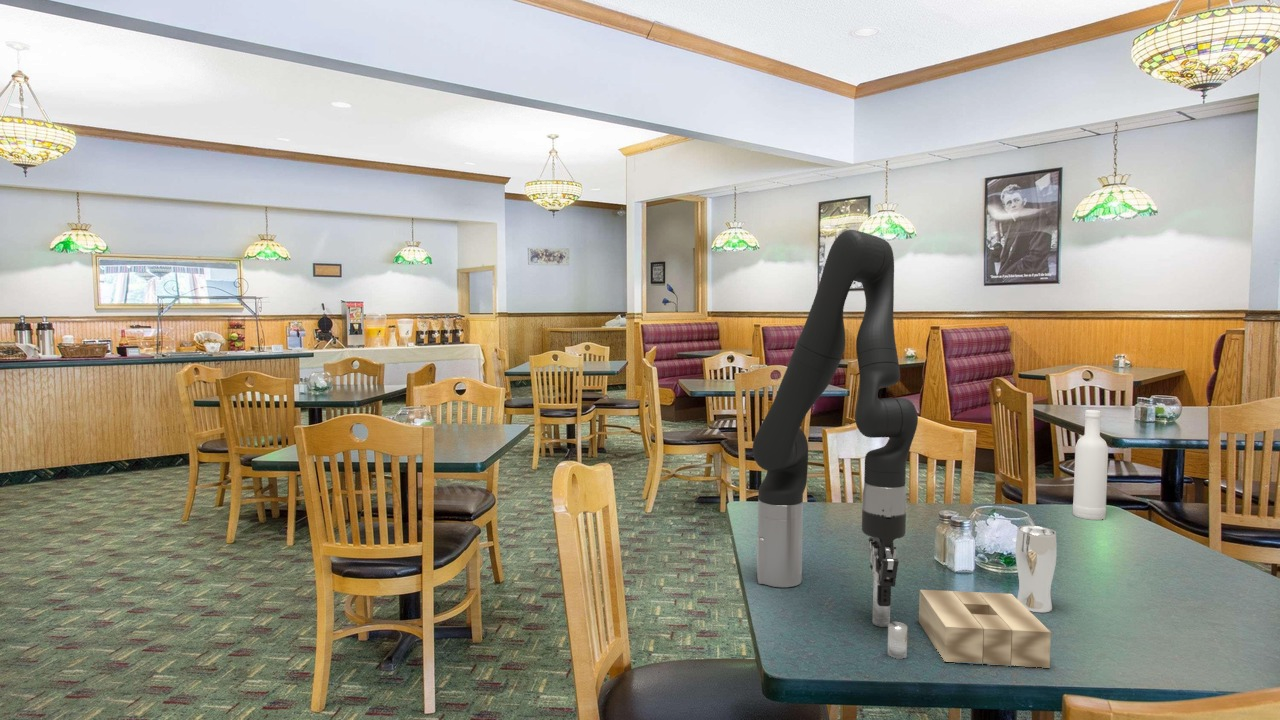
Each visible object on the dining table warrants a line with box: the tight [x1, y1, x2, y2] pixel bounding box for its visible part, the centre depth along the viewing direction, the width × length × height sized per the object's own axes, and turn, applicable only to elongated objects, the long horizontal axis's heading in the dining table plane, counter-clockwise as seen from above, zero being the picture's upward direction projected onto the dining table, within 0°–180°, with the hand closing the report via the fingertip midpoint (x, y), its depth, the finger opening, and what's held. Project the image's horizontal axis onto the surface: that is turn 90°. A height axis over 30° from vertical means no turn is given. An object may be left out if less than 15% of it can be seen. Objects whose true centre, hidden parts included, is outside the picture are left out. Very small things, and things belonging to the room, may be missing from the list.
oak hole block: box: [918, 589, 1052, 669], centre depth 124 cm, size 16×16×6 cm
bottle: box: [1072, 409, 1109, 521], centre depth 202 cm, size 8×8×30 cm
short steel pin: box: [887, 621, 908, 660], centre depth 120 cm, size 3×3×5 cm
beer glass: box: [1015, 525, 1058, 614], centre depth 139 cm, size 7×7×15 cm
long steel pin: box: [872, 565, 891, 628], centre depth 131 cm, size 3×3×14 cm
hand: (881, 601), depth 131 cm, fingers closed on long steel pin, 3 cm apart
